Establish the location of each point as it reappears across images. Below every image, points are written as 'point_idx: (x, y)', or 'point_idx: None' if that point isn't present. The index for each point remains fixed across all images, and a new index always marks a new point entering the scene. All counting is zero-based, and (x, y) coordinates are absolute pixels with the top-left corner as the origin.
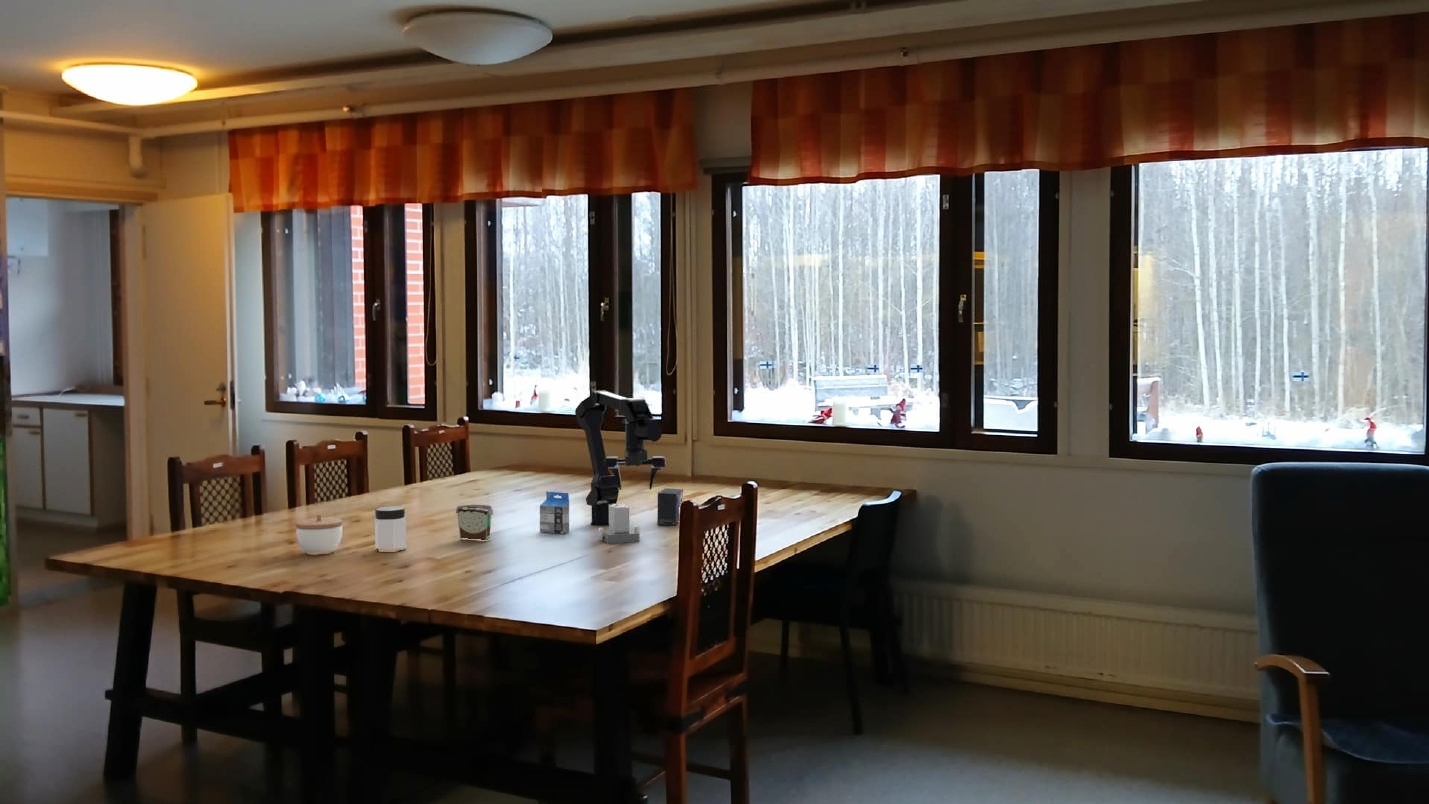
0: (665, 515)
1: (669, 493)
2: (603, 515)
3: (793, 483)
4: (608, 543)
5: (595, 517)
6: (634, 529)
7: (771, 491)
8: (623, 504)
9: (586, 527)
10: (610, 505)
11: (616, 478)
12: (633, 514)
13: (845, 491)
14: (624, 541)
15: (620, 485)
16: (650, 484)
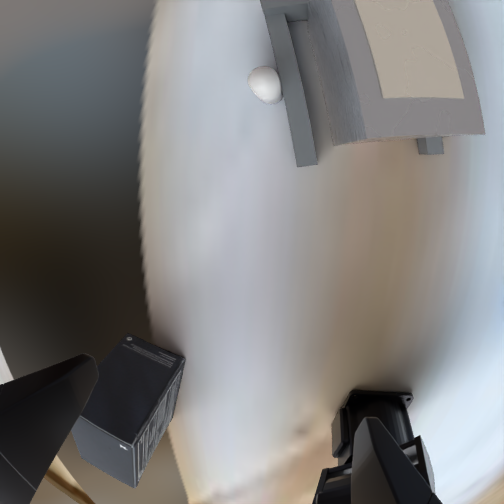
0: (142, 367)
1: (85, 419)
2: (378, 418)
3: (77, 495)
4: None
5: (400, 416)
6: (279, 81)
7: (79, 485)
8: (366, 84)
9: (437, 362)
10: (470, 68)
11: (436, 502)
12: (259, 478)
13: None
14: None
15: (378, 445)
16: (57, 374)
